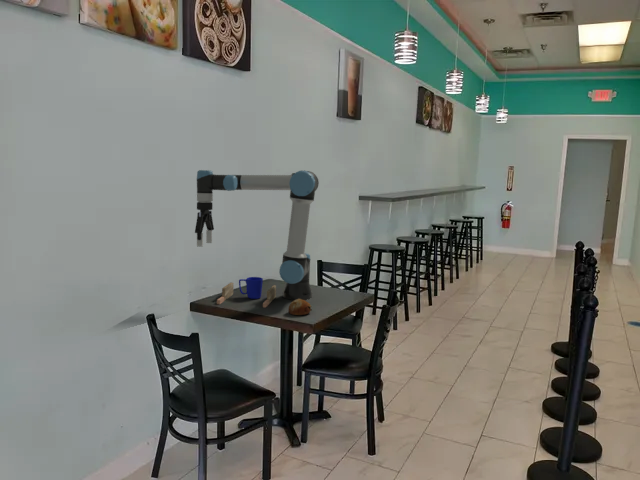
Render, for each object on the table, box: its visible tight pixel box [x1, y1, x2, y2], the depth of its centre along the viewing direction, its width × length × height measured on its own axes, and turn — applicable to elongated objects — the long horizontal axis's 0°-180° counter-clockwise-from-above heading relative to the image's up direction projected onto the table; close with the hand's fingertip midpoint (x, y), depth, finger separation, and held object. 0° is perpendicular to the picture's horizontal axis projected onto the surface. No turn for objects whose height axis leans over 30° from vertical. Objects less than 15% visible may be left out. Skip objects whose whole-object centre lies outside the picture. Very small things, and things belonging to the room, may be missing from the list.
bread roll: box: [288, 299, 313, 316], centre depth 235 cm, size 10×10×8 cm
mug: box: [238, 276, 264, 300], centre depth 262 cm, size 8×12×10 cm
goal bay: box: [216, 296, 270, 308], centre depth 249 cm, size 24×7×2 cm, turn 83°
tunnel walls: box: [221, 282, 277, 304], centre depth 260 cm, size 24×14×6 cm, turn 83°
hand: (204, 244), depth 256 cm, fingers open, 13 cm apart
